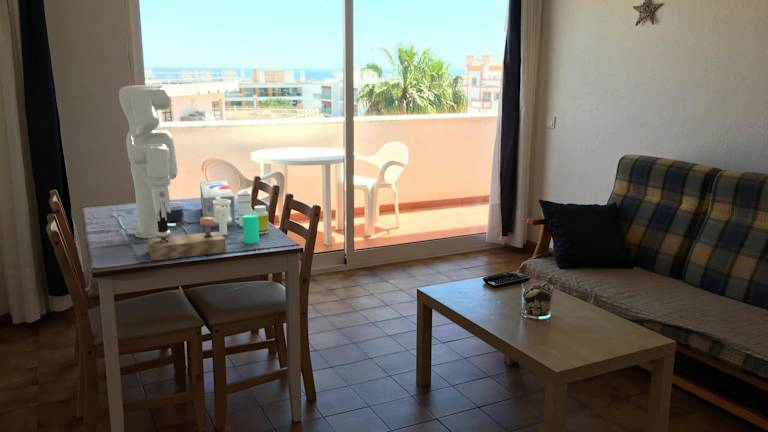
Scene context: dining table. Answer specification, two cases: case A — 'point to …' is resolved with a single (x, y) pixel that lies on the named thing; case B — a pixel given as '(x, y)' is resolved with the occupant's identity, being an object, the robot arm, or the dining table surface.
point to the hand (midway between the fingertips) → (163, 231)
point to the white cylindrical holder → (222, 214)
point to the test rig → (186, 246)
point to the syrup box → (244, 205)
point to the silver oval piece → (163, 235)
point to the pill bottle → (262, 219)
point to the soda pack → (211, 192)
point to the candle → (250, 229)
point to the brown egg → (207, 224)
